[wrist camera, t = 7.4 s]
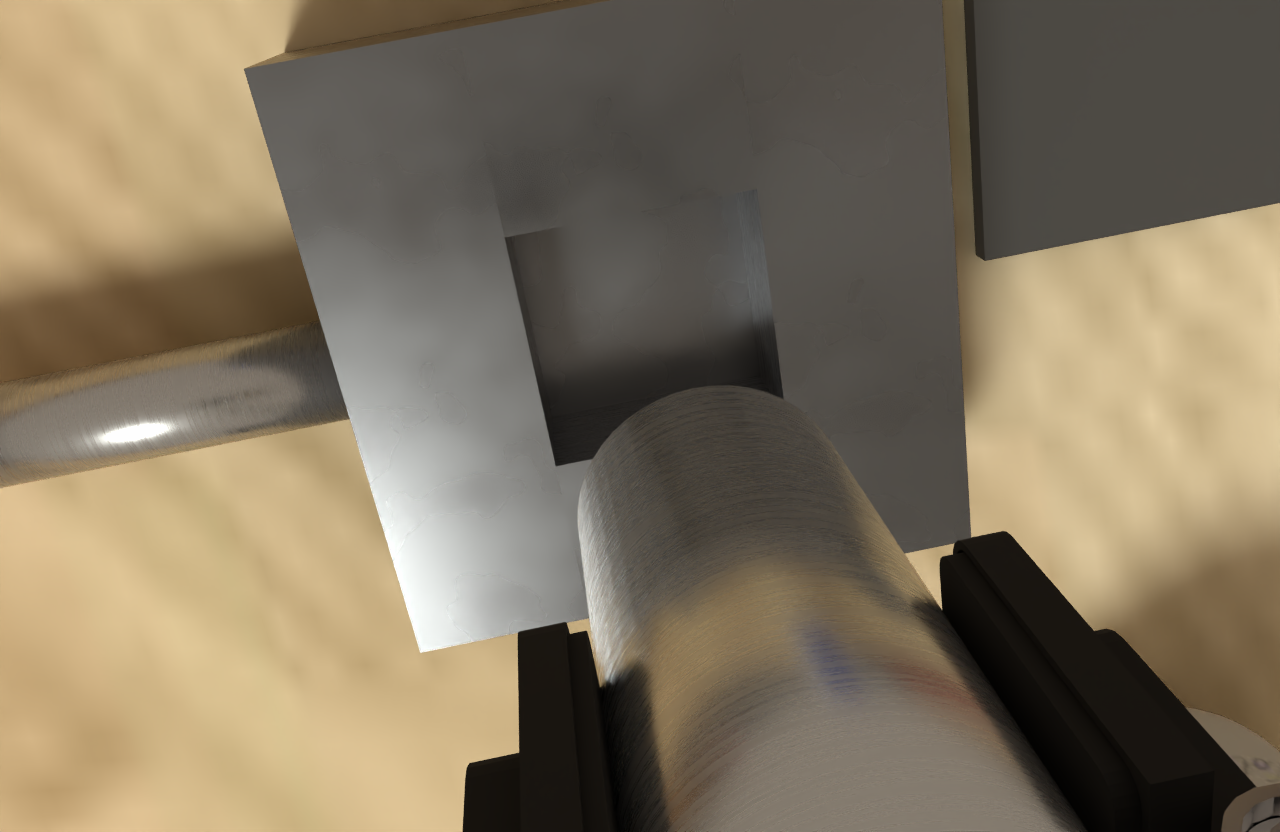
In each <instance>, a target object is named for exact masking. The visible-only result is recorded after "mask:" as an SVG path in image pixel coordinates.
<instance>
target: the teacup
mask: <svg viewBox="0 0 1280 832" xmlns="http://www.w3.org/2000/svg"><path fill="white" fill-rule="evenodd" d="M1185 708H1186V709H1187V710H1188V711H1189V712H1190V713H1191V714H1192V715H1193V717H1194V718H1195V719H1196V720H1197V721H1198V722H1199V723H1200V724H1201V725H1202V727H1203V728H1204V729H1205V730H1206V731H1207V732H1208V733H1209V734H1210V736H1211V737H1212V738H1213V739H1214V740H1215V741H1216V742H1217V743H1218V744H1219V746H1220V747H1221V748H1222V749H1223V750H1224V751H1225V752H1226V753H1227V754H1228V756H1229V757H1230V758H1231V759H1232V760H1233V761H1234V762H1235V763H1236V764H1237V766H1238V767H1239V768H1240V769H1241V770H1242V771H1243V772H1244V773H1245V774H1246V776H1247V777H1248V778H1249V779H1250V780H1251V781H1252V782H1253V783H1254V784H1255V786H1256V787H1261V786H1266V785H1271V784H1277V783H1280V751H1278V750H1277V749H1276V748H1275V747H1274V746H1272V745H1271V744H1270V743H1269V742H1267V741H1266V740H1264V739H1263V738H1262V737H1260V736H1259V735H1258V734H1256V733H1254V732H1253V731H1251V730H1249V729H1248V728H1246V727H1244V726H1243V725H1241V724H1239V723H1237V722H1234V721H1232V720H1230V719H1228V718H1226V717H1223V716H1221V715H1217V714H1214V713H1210V712H1207V711H1203V710H1199V709H1195V708H1187V707H1185Z"/></svg>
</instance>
